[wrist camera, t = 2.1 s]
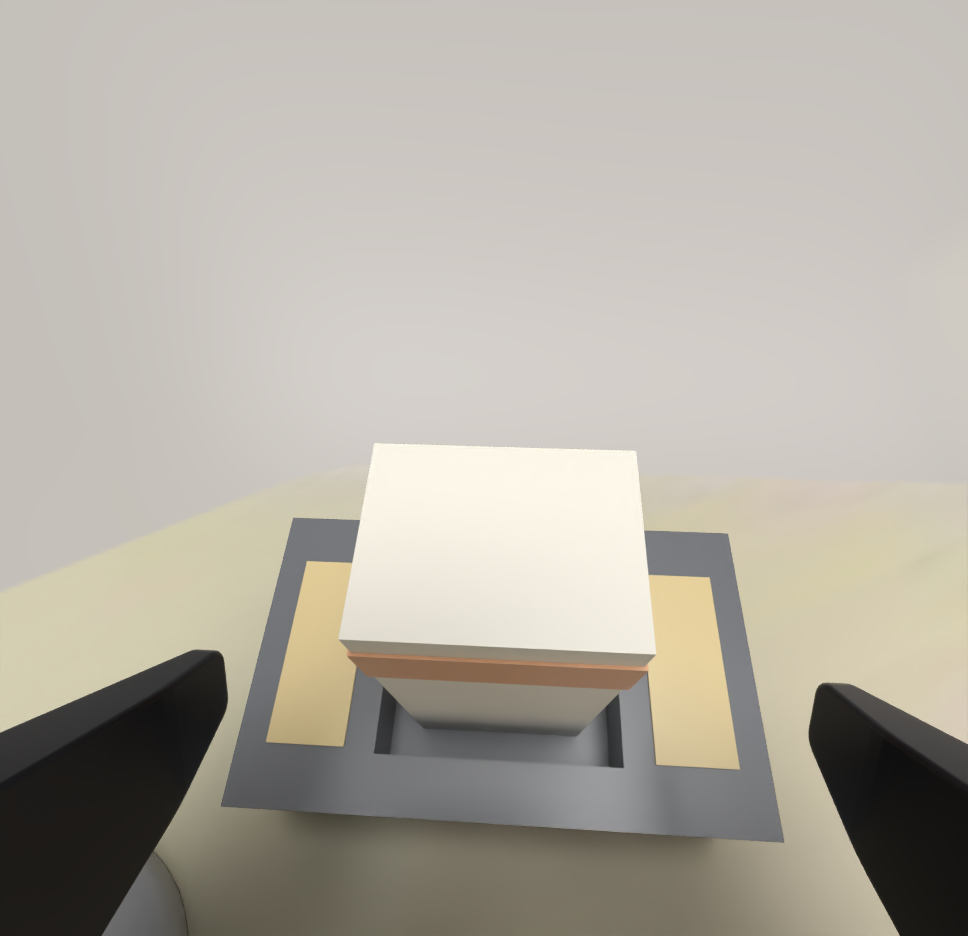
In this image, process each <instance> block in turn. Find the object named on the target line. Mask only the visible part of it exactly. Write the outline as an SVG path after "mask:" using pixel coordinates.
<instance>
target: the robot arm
mask: <svg viewBox="0 0 968 936" xmlns="http://www.w3.org/2000/svg"><path fill="white" fill-rule="evenodd" d="M227 703H228V692H227V683H226V673H225V664H224V658H223V656H222V654H221V653H220V652H219V651H215V650H192V651H189V652H187V653H184V654H182V655H180V656H177V657H175V658H173V659H170V660H168V661H166V662H164V663H161V664H159V665H157V666H154V667H152V668H150V669H147V670H145V671H143V672H140V673H138V674H136V675H133V676H131V677H129V678H126V679H124V680H122V681H119V682H117V683H115V684H112V685H110V686H108V687H105V688H103V689H101V690H98V691H96V692H94V693H91V694H89V695H87V696H84V697H82V698H80V699H78V700H75V701H73V702H71V703H68V704H66V705H64V706H61V707H59V708H57V709H54V710H52V711H50V712H47V713H45V714H43V715H40V716H38V717H36V718H33V719H31V720H29V721H26V722H24V723H22V724H19V725H17V726H15V727H12V728H10V729H8V730H5V731H3V732H1V733H0V936H102V935H103V933H104V931H105V930H106V928H107V927H108V925H109V923H110V922H111V920H112V918H113V917H114V915H115V913H116V912H117V910H118V908H119V907H120V905H121V903H122V902H123V900H124V898H125V897H126V895H127V893H128V892H129V890H130V889H131V887H132V885H133V884H134V882H135V880H136V879H137V877H138V875H139V874H140V872H141V870H142V869H143V867H144V865H145V864H146V862H147V860H148V859H149V857H150V855H151V854H152V852H153V851H154V849H155V847H156V846H157V844H158V842H159V841H160V839H161V837H162V836H163V834H164V832H165V831H166V829H167V827H168V826H169V824H170V822H171V821H172V819H173V817H174V815H175V814H176V812H177V810H178V808H179V807H180V805H181V803H182V801H183V799H184V797H185V795H186V793H187V791H188V789H189V787H190V785H191V783H192V781H193V779H194V777H195V774H196V772H197V770H198V768H199V766H200V764H201V762H202V760H203V758H204V756H205V754H206V752H207V750H208V748H209V745H210V743H211V741H212V739H213V737H214V735H215V733H216V731H217V729H218V727H219V725H220V723H221V721H222V719H223V716H224V714H225V712H226V708H227ZM809 742H810V746H811V749H812V752H813V754H814V757H815V759H816V761H817V764H818V766H819V768H820V771H821V773H822V775H823V778H824V780H825V782H826V785H827V787H828V790H829V792H830V794H831V797H832V799H833V801H834V804H835V806H836V808H837V811H838V813H839V815H840V818H841V820H842V823H843V825H844V827H845V830H846V832H847V834H848V837H849V839H850V841H851V843H852V845H853V848H854V850H855V852H856V854H857V856H858V858H859V860H860V862H861V864H862V866H863V868H864V870H865V872H866V874H867V876H868V877H869V879H870V881H871V883H872V885H873V887H874V889H875V890H876V892H877V894H878V896H879V898H880V900H881V902H882V903H883V905H884V907H885V909H886V911H887V913H888V915H889V916H890V918H891V920H892V922H893V924H894V926H895V928H896V929H897V931H898V933H899V935H900V936H968V744H966V743H964V742H962V741H960V740H958V739H956V738H954V737H952V736H951V735H949V734H947V733H945V732H943V731H941V730H939V729H937V728H935V727H933V726H931V725H929V724H927V723H925V722H923V721H921V720H919V719H918V718H916V717H914V716H912V715H910V714H908V713H906V712H904V711H902V710H900V709H898V708H896V707H894V706H892V705H890V704H888V703H887V702H885V701H883V700H881V699H879V698H877V697H875V696H873V695H871V694H869V693H867V692H865V691H863V690H861V689H859V688H857V687H855V686H853V685H850V684H842V683H822V684H821V685H819V686H818V688H817V690H816V693H815V698H814V704H813V709H812V715H811V720H810V725H809Z"/></svg>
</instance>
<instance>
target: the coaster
mask: <svg viewBox="0 0 968 936" xmlns="http://www.w3.org/2000/svg"><path fill="white" fill-rule="evenodd" d="M102 936H188V935H187V923H186V917H185V912H184V906H183V903H182V900H181V897H180V893H179V890H178V888H177V886H176V884H175V882H174V879H173V877H172V875H171V873H170V872H169V870H168V869H167V867H166V866H165V865H164V863H163V862H162V860H161V859H160V858H159V857H158V856H157V855H156V854H155V853H154V852H152V854H151V855H150V857H149V859H148V860H147V862H146V864H145V865H144V867H143V869H142V870H141V872H140V874H139V875H138V877H137V879H136V880H135V882H134V884H133V885H132V887H131V889H130V890H129V892H128V893H127V895H126V897H125V898H124V900H123V902H122V903H121V905H120V907H119V908H118V910H117V912H116V913H115V915H114V917H113V918H112V920H111V922H110V923H109V925H108V927H107V928H106V930H105V931H104V933H103V935H102Z"/></svg>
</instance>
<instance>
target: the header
mask: <svg viewBox="0 0 968 936" xmlns="http://www.w3.org/2000/svg"><path fill="white" fill-rule="evenodd" d="M359 524H360V520H339V519H311V518H293V521H292V525H291V529H290V533H289V537H288V541H287V545H286V549H285V553H284V557H283V561H282V565H281V569H280V573H279V577H278V581H277V585H276V589H275V593H274V597H273V601H272V605H271V609H270V613H269V617H268V621H267V624H266V628H265V632H264V636H263V640H262V644H261V648H260V652H259V656H258V660H257V664H256V668H255V672H254V676H253V680H252V684H251V688H250V692H249V696H248V700H247V704H246V708H245V712H244V716H243V720H242V724H241V728H240V732H239V736H238V740H237V744H236V748H235V751H234V755H233V759H232V763H231V767H230V771H229V775H228V779H227V783H226V787H225V791H224V795H223V799H222V803H221V806H222V807H238V808H254V809H269V810H285V811H300V812H316V813H331V814H347V815H362V816H378V817H393V818H409V819H424V820H440V821H456V822H471V823H487V824H502V825H518V826H533V827H549V828H564V829H580V830H595V831H611V832H627V833H642V834H658V835H673V836H689V837H704V838H720V839H735V840H751V841H766V842H782V843H784V838H783V833H782V827H781V822H780V816H779V811H778V805H777V800H776V794H775V789H774V783H773V778H772V772H771V767H770V761H769V756H768V751H767V745H766V740H765V734H764V729H763V723H762V718H761V712H760V707H759V701H758V696H757V690H756V685H755V679H754V674H753V668H752V663H751V658H750V652H749V647H748V641H747V636H746V630H745V625H744V619H743V614H742V608H741V603H740V597H739V592H738V586H737V581H736V575H735V570H734V564H733V559H732V554H731V548H730V543H729V537H728V534H723V533H696V532H668V531H644V535H645V545H646V555H647V565H648V575H649V585H650V595H651V605H652V615H653V625H654V635H655V645H656V656H655V657H654V658H653V659H652V660H651V661H650V662H649V663H648V670H649V671H648V672H647V673H646V674H645V675H644V676H643V677H642V678H641V679H640V680H639V681H638V682H637V683H636V684H635V685H634V686H633V687H632V688H630V689H629V690H621V692H620V693H619V694H618V695H617V696H616V697H615V698H614V699H613V700H612V701H611V702H610V703H609V704H608V705H607V706H606V707H605V708H604V709H603V710H602V711H601V712H600V713H599V714H598V715H597V716H596V717H595V718H594V719H593V720H592V721H591V722H590V723H589V724H588V725H587V726H586V727H585V728H584V730H583V731H582V732H581V733H580V734H579V735H578V736H577V737H574V736H556V735H538V734H520V733H502V732H484V731H466V730H448V729H430V728H423V727H422V726H421V725H420V724H419V723H418V722H417V721H416V720H415V719H414V718H413V717H412V716H411V715H410V714H409V713H408V712H407V711H406V709H405V708H404V707H403V706H402V705H401V704H400V703H399V702H398V701H397V700H396V699H395V698H394V697H393V696H392V695H391V694H390V693H389V692H388V691H387V690H386V689H385V688H384V687H383V686H382V684H381V683H380V682H379V681H378V680H377V679H376V678H375V677H367V676H366V675H365V674H364V673H363V672H362V671H361V670H360V669H359V668H358V667H357V666H356V665H355V664H354V663H353V662H352V661H351V660H350V659H349V658H348V657H347V651H348V649H347V648H346V647H345V646H344V645H343V644H342V643H341V642H340V641H339V640H338V638H339V632H340V627H341V622H342V616H343V611H344V605H345V600H346V594H347V589H348V584H349V578H350V573H351V567H352V562H353V556H354V551H355V546H356V540H357V535H358V529H359Z"/></svg>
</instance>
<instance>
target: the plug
mask: <svg viewBox="0 0 968 936" xmlns="http://www.w3.org/2000/svg"><path fill="white" fill-rule="evenodd" d="M338 640H339V641H340V642H341V643H342V644H343V645H344V646H345V647H346V648H347V649H348V651H347V657H348V658H349V659H350V660H351V661H352V662H353V663H354V664H355V665H356V666H357V667H358V668H359V669H360V670H361V671H362V672H363V673H364V674H365V675H366V676H367V677H375V678H376V679H377V680H378V681H379V682H380V683H381V684H382V686H383V687H384V688H385V689H386V690H387V691H388V692H389V693H390V694H391V695H392V696H393V697H394V698H395V699H396V700H397V701H398V702H399V703H400V704H401V705H402V706H403V707H404V708H405V709H406V711H407V712H408V713H409V714H410V715H411V716H412V717H413V718H414V719H415V720H416V721H417V722H418V723H419V724H420V725H421V726H422V727H423V728H430V729H448V730H466V731H484V732H502V733H520V734H538V735H556V736H574V737H577V736H578V735H579V734H580V733H581V732H582V731H583V730H584V728H585V727H586V726H587V725H588V724H589V723H590V722H591V721H592V720H593V719H594V718H595V717H596V716H597V715H598V714H599V713H600V712H601V711H602V710H603V709H604V708H605V707H606V706H607V705H608V704H609V703H610V702H611V701H612V700H613V699H614V698H615V697H616V696H617V695H618V694H619V693H620V692H621V690H629V689H630V688H632V687H633V686H634V685H635V684H636V683H637V682H638V681H639V680H640V679H641V678H642V677H643V676H644V675H645V674H646V673H647V672H648V671H649V670H648V663H649V662H650V661H651V660H652V659H653V658H654V657H655V656H656V645H655V635H654V625H653V615H652V605H651V595H650V585H649V575H648V565H647V555H646V545H645V535H644V525H643V515H642V505H641V495H640V485H639V475H638V465H637V455H636V451H618V450H584V449H582V450H581V449H547V448H515V447H478V446H445V445H412V444H378V443H375V444H374V448H373V453H372V459H371V464H370V470H369V475H368V481H367V486H366V491H365V497H364V502H363V508H362V513H361V519H360V524H359V529H358V535H357V540H356V546H355V551H354V556H353V562H352V567H351V573H350V578H349V584H348V589H347V594H346V600H345V605H344V611H343V616H342V622H341V627H340V632H339V638H338Z"/></svg>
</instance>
